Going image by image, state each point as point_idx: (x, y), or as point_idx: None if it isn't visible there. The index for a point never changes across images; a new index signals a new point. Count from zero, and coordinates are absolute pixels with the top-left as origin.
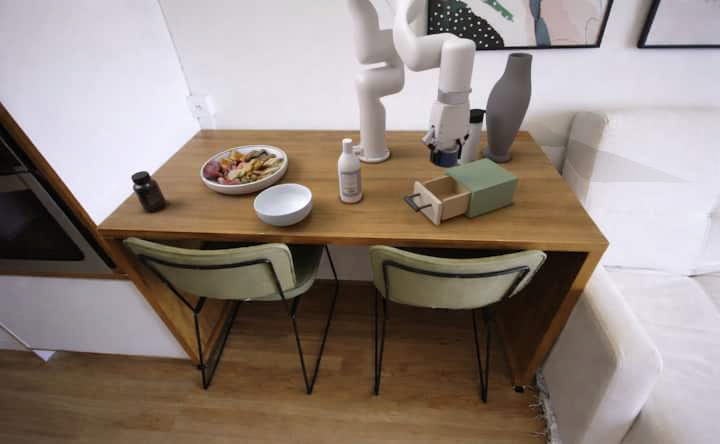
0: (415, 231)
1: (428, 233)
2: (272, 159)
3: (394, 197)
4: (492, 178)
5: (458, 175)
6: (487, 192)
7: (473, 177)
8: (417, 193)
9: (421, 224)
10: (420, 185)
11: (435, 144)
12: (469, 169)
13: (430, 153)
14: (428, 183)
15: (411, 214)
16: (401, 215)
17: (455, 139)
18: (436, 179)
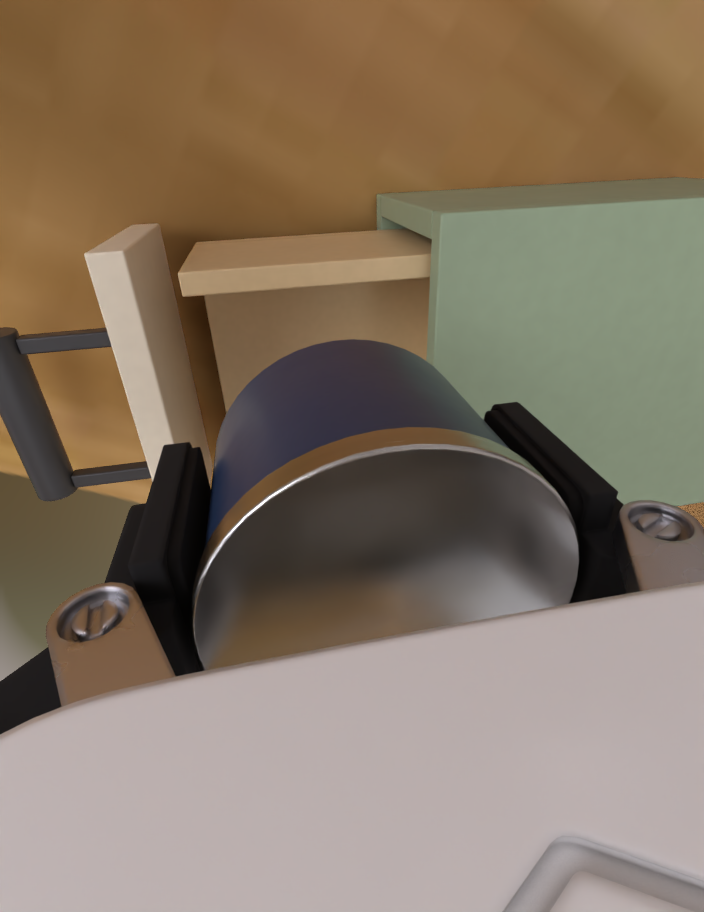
0: (78, 453)
1: (141, 481)
2: None
3: (3, 40)
4: (618, 462)
5: (471, 353)
6: None
7: (537, 416)
8: (105, 332)
9: (128, 415)
10: (124, 327)
11: (240, 537)
12: (604, 305)
13: (111, 570)
14: (221, 292)
15: (95, 315)
16: (23, 300)
17: (624, 562)
18: (305, 283)
